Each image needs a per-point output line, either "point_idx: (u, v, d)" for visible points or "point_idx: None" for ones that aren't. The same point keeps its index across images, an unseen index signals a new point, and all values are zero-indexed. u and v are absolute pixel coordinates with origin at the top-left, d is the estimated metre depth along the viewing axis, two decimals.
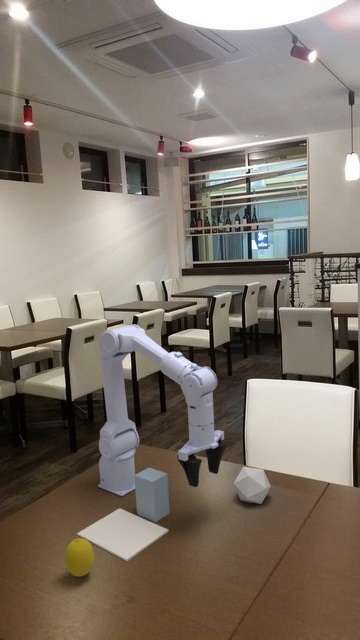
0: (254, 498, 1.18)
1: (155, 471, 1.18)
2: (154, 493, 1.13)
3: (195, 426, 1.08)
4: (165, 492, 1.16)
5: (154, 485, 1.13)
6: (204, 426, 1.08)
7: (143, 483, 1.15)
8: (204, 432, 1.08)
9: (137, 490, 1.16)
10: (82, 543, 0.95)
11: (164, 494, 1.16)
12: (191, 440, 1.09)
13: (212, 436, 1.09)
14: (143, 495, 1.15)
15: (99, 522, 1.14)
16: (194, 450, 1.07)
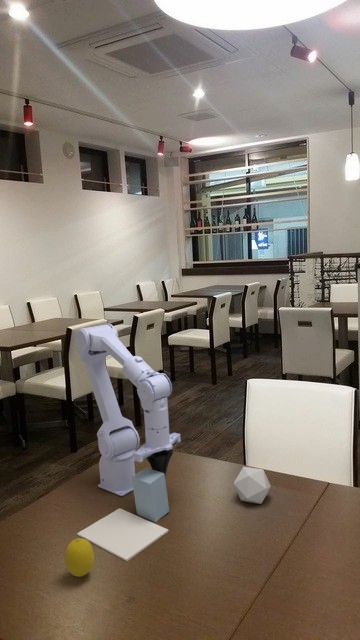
0: (254, 498, 1.18)
1: (152, 471, 1.17)
2: (152, 494, 1.13)
3: (150, 429, 1.14)
4: (163, 492, 1.16)
5: (151, 486, 1.12)
6: (159, 429, 1.14)
7: (140, 485, 1.14)
8: (158, 435, 1.14)
9: (135, 491, 1.16)
10: (82, 543, 0.95)
11: (162, 494, 1.15)
12: (147, 442, 1.16)
13: (167, 439, 1.16)
14: (141, 496, 1.15)
15: (99, 522, 1.14)
16: (149, 452, 1.13)
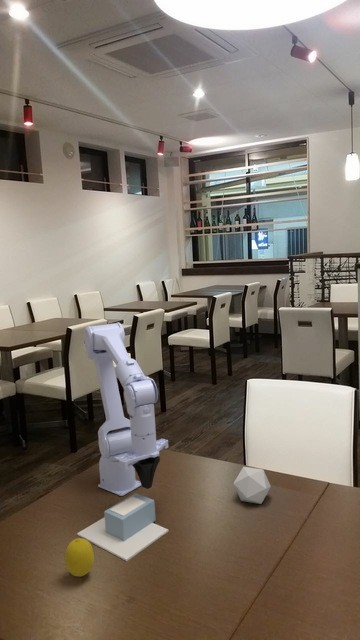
0: (254, 498, 1.18)
1: (113, 518, 1.08)
2: (134, 533, 1.09)
3: (136, 436, 1.11)
4: (137, 515, 1.09)
5: (127, 537, 1.07)
6: (145, 436, 1.11)
7: None
8: (144, 442, 1.11)
9: None
10: (82, 543, 0.95)
11: (138, 516, 1.09)
12: (133, 449, 1.12)
13: (154, 445, 1.12)
14: None
15: (99, 522, 1.14)
16: (134, 459, 1.10)
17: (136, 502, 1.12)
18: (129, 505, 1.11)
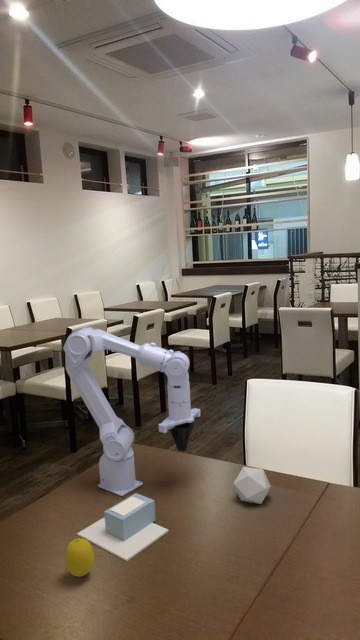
0: (254, 498, 1.18)
1: (113, 518, 1.08)
2: (134, 533, 1.09)
3: (173, 403, 1.24)
4: (137, 515, 1.09)
5: (127, 537, 1.07)
6: (181, 403, 1.23)
7: None
8: (181, 408, 1.23)
9: None
10: (82, 543, 0.95)
11: (138, 516, 1.09)
12: (170, 416, 1.25)
13: (189, 412, 1.25)
14: None
15: (99, 522, 1.14)
16: (172, 424, 1.22)
17: (136, 502, 1.12)
18: (129, 505, 1.11)
